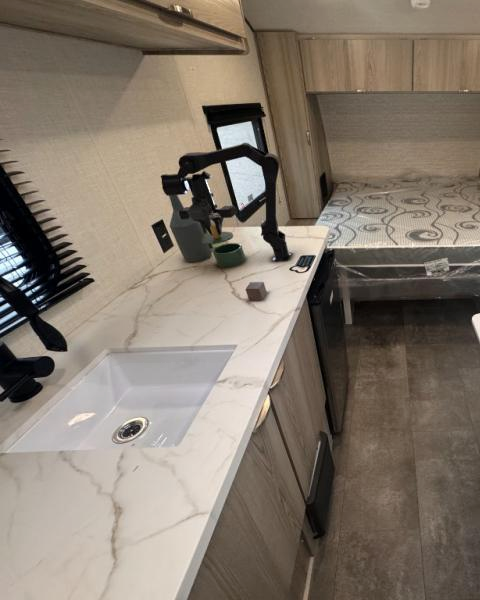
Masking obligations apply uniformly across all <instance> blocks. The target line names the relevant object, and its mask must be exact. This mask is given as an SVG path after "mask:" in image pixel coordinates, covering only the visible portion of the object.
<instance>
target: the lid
mask: <svg viewBox="0 0 480 600" xmlns="http://www.w3.org/2000/svg"><path fill="white" fill-rule="evenodd" d="M209 227H210V230H211V232H212V235H211V234H209V235H206V236H204V237H203V238H202V239H201V242H202V243H204V244H218V243H222V242H226V243H227V242H228V241H230V240H232V239H233V238H234V233H233V232H231V231H222V232H221V235H219V234H218V232H217V229H216V226H215V225H211V226H209Z"/></svg>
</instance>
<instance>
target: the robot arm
mask: <svg viewBox="0 0 480 600" xmlns="http://www.w3.org/2000/svg"><path fill="white" fill-rule="evenodd" d="M242 158H246V159H249V160H250V161H252V162H253V163H254V164H256V165H257V166H259V167H261V170H262V174H263V178H264V183H265V184H264V185H265V188H264V189H265V220H261V223H260V228H261V229H260V230H261V232H260V236H262V239H263V241H264V242H265V243H267V244H269V245H270V247H271V248H272V251H273V258H272V259H271V260H272V262H278V261H279V262H280V261H281V262H282V261H289V260H290V258H291V257H292V255H293V252H289V248H288V244H287V242H286V233H284V232H283V231H281V230H280V229H279V223H278V220H277V180H278V175H279V170H280V160H279V158H278V156H277V155H275V154H273V153H267V152H265V151H264V150H262V149H259V148H257V147H255V146H253V145H251V144H250V143H249V142H243V143H241V144H236V145H233V146H229V147H224V148H221V149H216V150H211V151H208V152H207V151H206V152H204V151H203V152H200V151H197V152H186V153H185V154H183V155H182V156H180V157H179V159H178V167H179V168H178V172H177V173H173V174H168V173H164V174H163V173H162V174H161V175H160V179H161V186H162V187H161V188H162V191H163V192H164V195H166V196H167V197H169V196H172V195H178V196H183V195H187V194H188V192H189V191H190V192H191V195H192V197H191V205H190V206H184V208H183V209H182V210H180V211H179V213H178V215H179V217H180V219H189V217H191V219H192V220H194V221H197V222H200V223H201V224H202V225H203V226H204V227H205V228H206V229H207V231H208V232H209V233H210V234H211V235H212V232H211V230H210V227H209V226H211V222H210V218H209V215H214V218H213V219H212V220H213V221H214V223H215V226H216V229H217V232H218V234H219V235H221V232H223V222H224V219H230V218H233V217H234V216H235V215H237V214H238V213H239V212H238V209H237V208H236V206H234V205H224V206H222V207H221V208H218V205H217V203H216V204H215V202H214V199H213V197H214V196H215V195H214V193H213V192H211V190H210V187H209V184H208V181H207V180H210V179H211V178H212V174H210V173H209V172H207V171H206V170H205V169H207V168H209V167H210V166H214V165H217V164H222V163H225V162H229V161H234V160H237V159H242ZM201 171H202V172H201ZM199 172H201V173H199ZM189 175H192V176H189ZM187 176H188V177H187Z"/></svg>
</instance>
